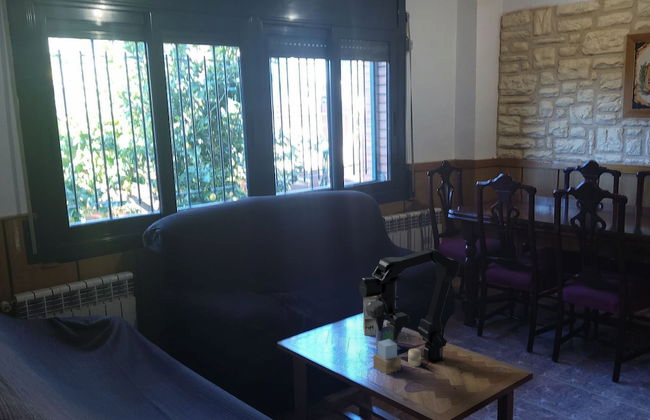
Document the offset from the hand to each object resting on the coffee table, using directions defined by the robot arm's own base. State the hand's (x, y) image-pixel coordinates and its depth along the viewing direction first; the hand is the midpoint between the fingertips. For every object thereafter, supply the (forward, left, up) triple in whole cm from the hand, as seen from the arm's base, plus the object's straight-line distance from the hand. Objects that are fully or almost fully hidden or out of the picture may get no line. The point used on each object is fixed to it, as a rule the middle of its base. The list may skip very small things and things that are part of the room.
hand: (387, 335), depth 198 cm
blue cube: (0, 0, -8) cm, 8 cm away
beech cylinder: (-11, +2, -13) cm, 17 cm away
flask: (-11, -16, -13) cm, 23 cm away
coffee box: (-14, -32, -13) cm, 37 cm away
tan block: (0, 0, -13) cm, 13 cm away
